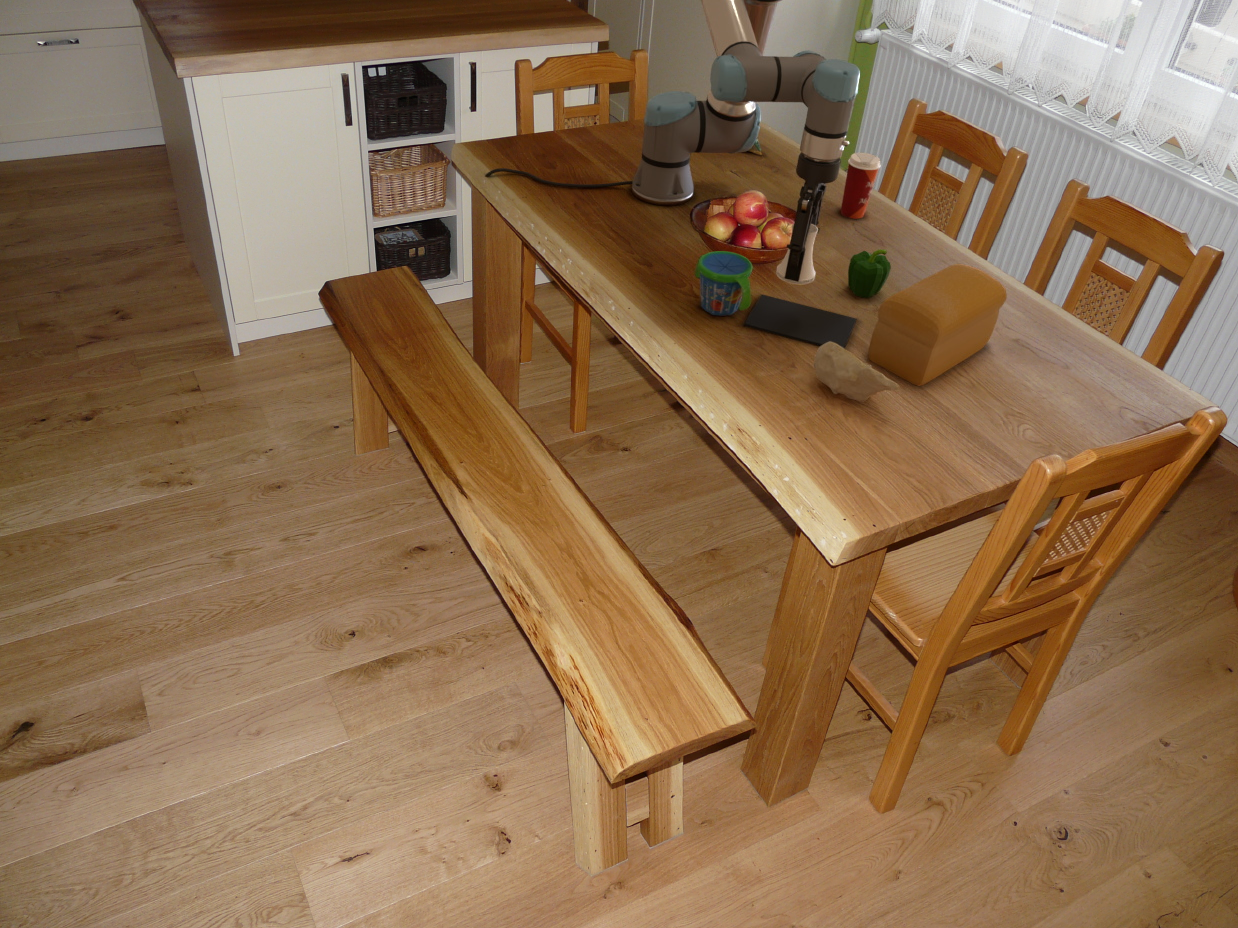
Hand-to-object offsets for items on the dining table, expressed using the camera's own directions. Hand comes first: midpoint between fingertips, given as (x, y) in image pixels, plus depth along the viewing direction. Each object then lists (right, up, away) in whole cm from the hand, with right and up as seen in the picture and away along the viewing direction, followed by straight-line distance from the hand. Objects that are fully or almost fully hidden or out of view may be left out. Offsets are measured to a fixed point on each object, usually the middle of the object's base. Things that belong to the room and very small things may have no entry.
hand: (796, 271), depth 180 cm
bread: (+26, -16, +2) cm, 30 cm away
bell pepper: (+18, -1, +18) cm, 25 cm away
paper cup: (+23, +24, +48) cm, 58 cm away
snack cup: (-14, -6, +9) cm, 18 cm away
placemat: (+2, -9, +6) cm, 11 cm away
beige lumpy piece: (+9, -25, -11) cm, 28 cm away
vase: (0, -1, +1) cm, 1 cm away
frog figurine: (-2, +51, +77) cm, 92 cm away
